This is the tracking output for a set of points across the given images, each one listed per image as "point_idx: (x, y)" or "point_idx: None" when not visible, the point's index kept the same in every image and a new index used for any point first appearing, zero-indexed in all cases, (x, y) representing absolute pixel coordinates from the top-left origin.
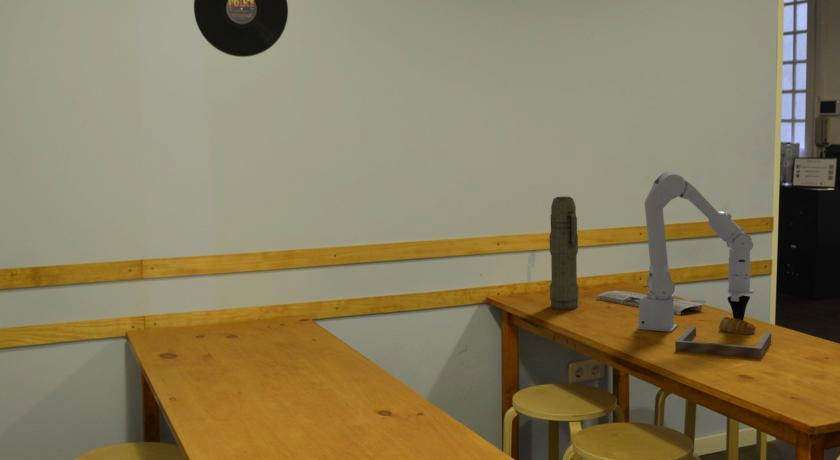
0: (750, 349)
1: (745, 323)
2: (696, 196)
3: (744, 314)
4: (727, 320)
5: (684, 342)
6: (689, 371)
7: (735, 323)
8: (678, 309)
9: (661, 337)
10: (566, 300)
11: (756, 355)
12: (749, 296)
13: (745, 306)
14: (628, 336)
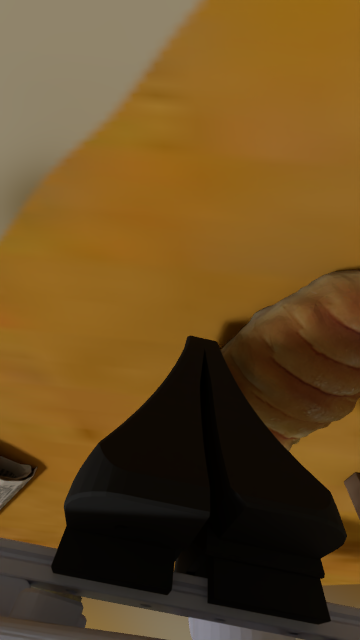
0: None
1: (347, 348)
2: None
3: (184, 358)
4: (301, 433)
5: None
6: None
7: (351, 400)
8: (15, 485)
9: (355, 525)
10: (77, 598)
11: None
12: (115, 502)
13: (253, 430)
14: (327, 557)
